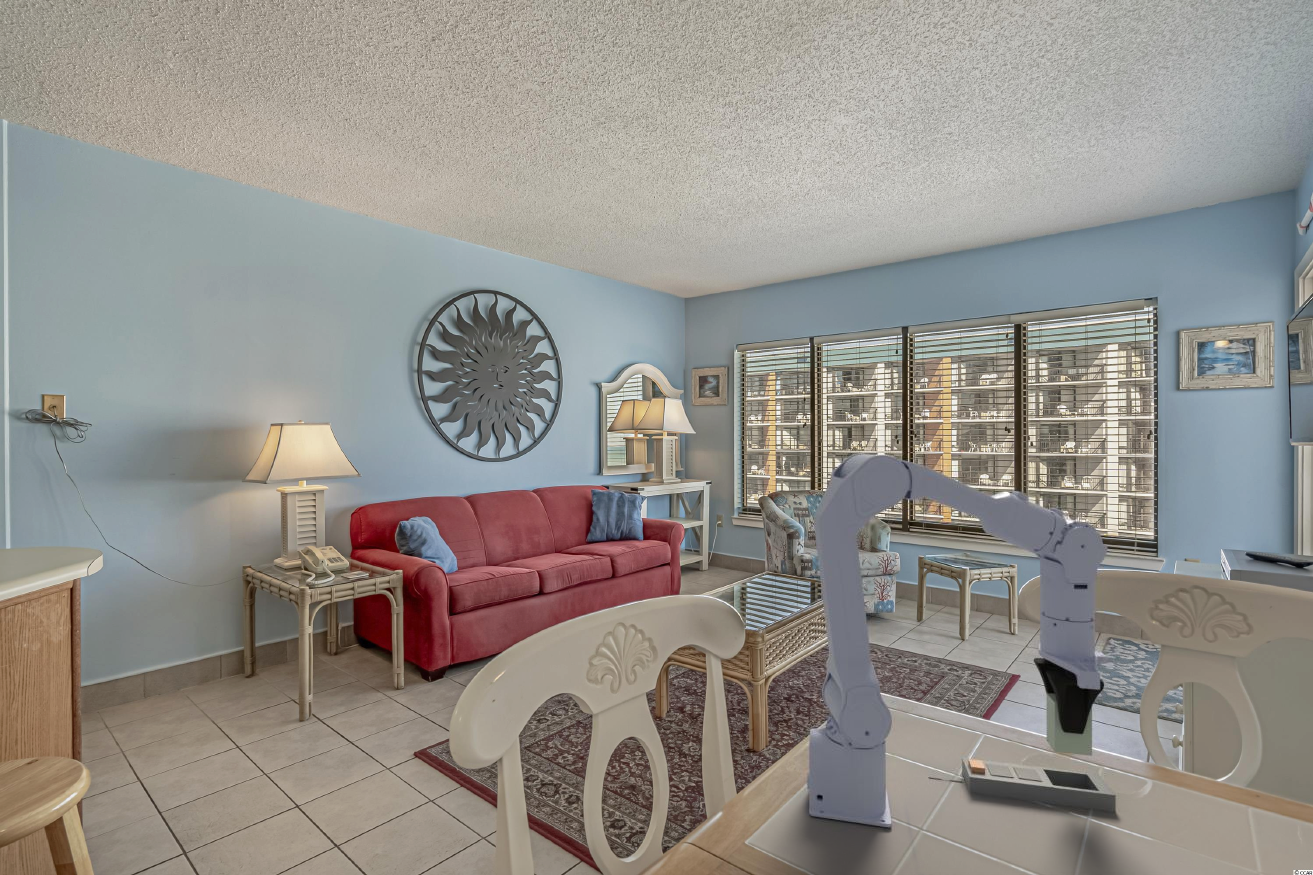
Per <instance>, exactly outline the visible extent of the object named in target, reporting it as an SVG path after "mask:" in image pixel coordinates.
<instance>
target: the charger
mask: <svg viewBox="0 0 1313 875" xmlns="http://www.w3.org/2000/svg"><path fill="white" fill-rule="evenodd" d="M1046 742H1047V743H1048V744H1049V746H1050V748H1052V750H1053V751H1054V752H1056V753H1061V754H1062V753H1064V754H1071V755H1072V754H1073V755H1081V756H1090V757H1092V756H1093V706H1092V707H1091V710H1090V713H1089V716H1088V720H1087V723H1086V727H1085V730H1084V733H1083V734H1074V733H1065V732H1064V731H1063V730H1062V727H1061V724H1060V720H1059V713H1058V706H1057V700H1056V696H1055V694H1051V693H1047V694H1046Z"/></svg>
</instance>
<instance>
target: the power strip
mask: <svg viewBox="0 0 1313 875" xmlns="http://www.w3.org/2000/svg"><path fill="white" fill-rule="evenodd" d="M961 767H962V769H961V773H962V776H963V777H962V778H963V779H964V781H965V784H966V786H967V790H968V791H969V792H968V793H969V794H975V795H981V796H989V797H998V798H1003V799H1004V798H1006V799H1012V800H1020V801H1026V802H1027V801H1028V802H1033V803H1034V802H1035V803H1042V804H1050V805H1059V806H1066V807H1071V808H1079V809H1088V810H1095V811H1103V812H1112V813H1116V811H1117V809H1116V808H1117V806H1116V805H1117V803H1116V802H1117V801H1116V800H1117V799H1116V797H1117V796H1116V794H1115V793H1114V791H1113V790H1112V789H1111V787H1110V786H1109V785H1108V783H1107V782H1106V781H1105V779H1104V778H1103V777H1102V776H1101V775H1100V773H1093V772H1083V771H1075V770H1068V769H1059V768H1051V767H1043V766H1035V765H1027V764H1026V765H1025V764H1017V763H1009V762H1002V761H1001V762H1000V761H992V760H985V759H978V758H977V759H975V758H967V757H966V758H965V757H961ZM928 779H929V780H936V781H945V782H951V783H960V784H964V782H963V781H962V780H954V779H953V780H952V779H946V778H937V777H930V776H929V777H928Z"/></svg>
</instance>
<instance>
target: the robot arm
mask: <svg viewBox="0 0 1313 875" xmlns="http://www.w3.org/2000/svg"><path fill="white" fill-rule="evenodd" d="M830 474H831V475H830V480H829V483H828V485H827V487H826V490H825V492H824V494H823V496H822V498H821V501H820V502H819V504H818V506H817V509H816V511H815V513H814V516H813V528H814V536H815V543H816V544H815V546H816V551H817V552H816V553H817V560H818V561H817V562H818V569H819V579H820V588H821V595H822V605H823V612H824V619H825V620H824V621H825V629H826V637H827V647H828V658H827V660H826V661H825V667H826V676H825V679H824V681H823V684H822V689H821V695H822V700H823V702H824V704H825V706H826V707H827V708H828V709H829V712H830V713H829V714H830V715H829V716H828V718H827V720H826V724H825V725H824V726H825V727H820V728H810V729H809V740H808V741H809V742H808V744H809V747H808V749H809V750H808V753H809V754H808V758H809V759H808V760H809V761H808V769H809V770H808V773H807V775H806V776H807V777H806V789H808V791H809V793H808V794H809V796H808V797H809V798H808V800H809V802H808V803H809V808H808V813H809V815H810V816H812V817H817V818H824V819H829V820H830V819H831V820H837V821H842V822H851V823H858V824H863V825H868V826H869V825H871V826H875V827H876V826H878V827H884V828H891V827H892V826H893V821H892V816H891V808H890V803H889V802H890V801H889V797H888V796H889V794H888V791H887V787H886V786H887V784H886V783H887V782H886V781H887V779H886V778H887V773H886V772H887V764H886V761H887V760H886V759H887V758H886V756H887V755H886V747H887V746H886V745H887V744H886V742H887V741H886V738H888V736H889V735H890V733H891V730H892V725H893V723H892V722H893V719H892V715H891V711H890V709H889V707H888V706H887V704H886V703H885V700H884V699H883V698H882V694H881V688H880V683H879V679H878V676H877V673H876V671H875V668H874V665H873V662H872V655H871V648H870V646H871V645H870V638H869V630H868V622H867V614H866V605H865V595H864V588H863V586H864V585H863V579H862V570H861V562H860V554H859V545H858V533H859V531H861V530H862V528H864V526H866V525H867V523H868V522H870V520H872V519H873V517H875V516H876V515H879V514H880V513H883V512H884V511H887V510H888V509H890V508H893V507H894V506H896V505H898V504H899V503H900V502H901V501H902V500H903V499H905V500H908V501H915V500H918V499H924V498H925V499H927V500H930V501H933V502H935V503H937V504H940V505H943V506H946V507H948V508H952V509H953V510H955V511H959V512H960V513H964V514H965V515H969V516H970V517H971V516H972V517H973V518H976V519H978V521H979V523H980V526H981V528H982V530H983V531H984V532H985V533H986V534H987V535H990V536H992V537H994V538H997V539H999V540H1001V541H1003V542H1007V543H1008V544H1011V545H1013V546H1016V547H1018V548H1021V549H1022V550H1025V551H1028V552H1030V553H1031V554H1034V555H1035V556H1036V557H1038V558H1039V562H1040V563H1039V569H1040V570H1039V572H1040V574H1039V588H1040V590H1039V593H1040V594H1039V602H1040V603H1039V612H1040V613H1039V617H1040V618H1039V620H1040V621H1039V628H1040V630H1039V645H1038V648H1037V649H1038V652H1037V653H1038V655H1039V656H1040V657H1035V658H1033V663H1034V665H1035V666H1036V668H1037V670H1038V672H1039V674H1040V677H1041V679H1042V683H1043V686H1044V690H1045V693H1046V695H1047V693H1051V694H1055V696H1056V700H1057V706H1058V713H1059V720H1060V724H1061V727H1062V730H1063V731H1064V732H1065V733H1074V734H1083V733H1084V730H1085V727H1086V723H1087V720H1088V716H1089V713H1090V710H1091V707H1092V708H1093V706H1094V702H1095V700H1097V698H1098V697H1099V695H1100V693H1102V691H1103V690H1104V689H1105V682H1104V681H1103V680H1102V679H1101V672H1100V671H1098V663H1106V662H1107V655H1105V654H1104V653H1103V652H1101V651H1098V650H1096V580H1097V578H1098V570H1099V566H1100V564H1102V563H1103V561H1104V560H1105V557H1107V553H1108V545H1106V544H1104V543H1103V538H1102V536H1101V533H1100V532H1098V531H1097V529H1096V527H1094V526H1093V525H1092V524H1089V523H1087V522H1083V521H1080V520H1074V519H1069V518H1065V517H1064V511H1063V510H1060V509H1059V508H1054V507H1052V508H1051V507H1050V509H1049V508H1046V507H1044V506H1041V505H1040V504H1037V503H1035V502H1032V501H1029V500H1028V498H1029V496H1028V494H1026V493H1023V492H1021V491H1015V490H1013V491H1012V492H1007V491H1001V492H997V493H996V494H991V495H989V494H986V493H984V492H983V491H980V490H978V489H976V488H973V487H971V486H969V485H967V484H965V483H963V482H961V481H958V480H956V479H954V478H953V477H952V478H951V477H949V476H948V475H946V474H943V473H941V472H939V471H936V470H935V469H932V468H930V467H928V466H926V465H922V464H919V463H916V462H911V461H909V460H908V461H907V460H901V459H898V458H896V457H895V456H891V455H889V454H871V453H870V454H869V453H867V452H858V453H854V454H852V455H850V456H848V457H846V458H845V459H844V460H843V461H842V462H841V463H840V464H839V465H838V466H836V468H835V469H834V470H832V471H831V473H830Z"/></svg>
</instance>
